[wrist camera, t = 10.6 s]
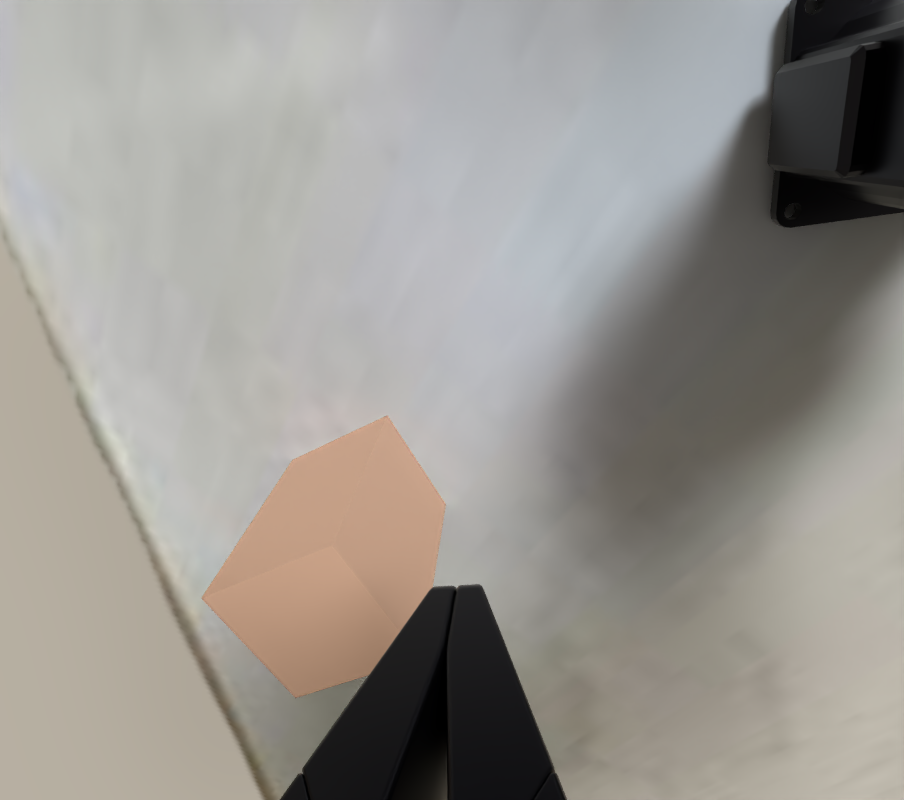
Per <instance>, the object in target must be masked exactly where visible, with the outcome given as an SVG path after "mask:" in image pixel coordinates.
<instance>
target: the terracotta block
mask: <svg viewBox="0 0 904 800" xmlns="http://www.w3.org/2000/svg"><path fill="white" fill-rule="evenodd" d="M445 507H446V504H445V502H444V501H443V499H442V498H441V496H440V495H439V493H438V492H437V490H436V489H435V487H434V486H433V484H432V483H431V481H430V480H429V478H428V476H427V475H426V473H425V472H424V470H423V469H422V467H421V466H420V464H419V463H418V461H417V460H416V458H415V457H414V455H413V454H412V452H411V451H410V449H409V448H408V446H407V445H406V443H405V442H404V440H403V438H402V437H401V435H400V434H399V432H398V431H397V429H396V428H395V426H394V425H393V423H392V422H391V420H390V419H389V417H388V416H385V417H383V418H381V419H379V420H376V421H374V422H372V423H370V424H368V425H366V426H364V427H362V428H359V429H357V430H355V431H353V432H351V433H349V434H347V435H345V436H342V437H340V438H338V439H336V440H334V441H332V442H330V443H328V444H325V445H323V446H321V447H319V448H317V449H315V450H313V451H311V452H308V453H306V454H304V455H302V456H300V457H298V458H296V459H294V460H292V461H291V463H290V464H289V466H288V467H287V469H286V470H285V472H284V474H283V475H282V477H281V478H280V480H279V481H278V483H277V484H276V486H275V487H274V489H273V490H272V492H271V493H270V495H269V496H268V498H267V499H266V501H265V502H264V504H263V505H262V507H261V508H260V510H259V511H258V513H257V514H256V516H255V518H254V519H253V521H252V522H251V524H250V525H249V527H248V528H247V530H246V531H245V533H244V534H243V536H242V537H241V539H240V540H239V542H238V543H237V545H236V546H235V548H234V549H233V551H232V552H231V554H230V555H229V557H228V558H227V560H226V561H225V563H224V565H223V566H222V568H221V569H220V571H219V572H218V574H217V575H216V577H215V578H214V580H213V581H212V583H211V584H210V586H209V587H208V589H207V590H206V592H205V593H204V595H203V596H202V600H203V601H204V602H205V603H206V604H207V605H208V606H209V607H210V608H211V609H212V610H213V611H214V612H215V613H216V614H217V615H218V616H219V618H220V619H221V620H222V621H223V622H224V623H225V624H226V625H227V626H228V627H229V628H230V629H231V630H232V631H233V632H234V633H235V634H236V636H237V637H238V638H239V639H240V640H241V641H242V642H243V643H244V644H245V645H246V646H247V647H248V648H249V649H250V650H251V651H252V652H253V654H254V655H255V656H256V657H257V658H258V659H259V660H260V661H261V662H262V663H263V664H264V665H265V666H266V667H267V668H268V669H269V670H270V672H271V673H272V674H273V675H274V676H275V677H276V678H277V679H278V680H279V681H280V682H281V683H282V684H283V685H284V686H285V687H286V689H287V690H288V691H289V692H290V693H291V694H292V695H293V696H294V697H295V698H297V697H300V696H304V695H307V694H310V693H313V692H316V691H320V690H323V689H326V688H329V687H332V686H336V685H339V684H342V683H345V682H348V681H351V680H355V679H358V678H361V677H364V676H367V675H369V674H370V673H371V671H372V670H373V669H374V667H375V666H376V664H377V663H378V662H379V660H380V659H381V657H382V656H383V655H384V653H385V652H386V650H387V649H388V648H389V646H390V645H391V643H392V642H393V641H394V639H395V638H396V636H397V635H398V634H399V632H400V631H401V629H402V628H403V626H404V625H405V624H406V622H407V621H408V619H409V618H410V617H411V615H412V614H413V612H414V611H415V610H416V608H417V607H418V605H419V604H420V603H421V601H422V600H423V598H424V597H425V596H426V594H427V593H428V591H429V590H430V589H431V588H433V582H434V575H435V569H436V563H437V557H438V550H439V544H440V538H441V532H442V525H443V519H444V513H445Z"/></svg>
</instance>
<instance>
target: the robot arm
mask: <svg viewBox="0 0 904 800" xmlns="http://www.w3.org/2000/svg"><path fill="white" fill-rule="evenodd" d="M805 3H806V0H792V1H791V2H790V6H789V10H788V21H787V33H786V44H785V55H784V65H783V66H782V67H781V68H780V70H779V71H778V72H777V73H776V75H775V79H774V91H773V103H772V115H771V127H770V139H769V151H768V164H769V165H770V166H771V167H772V168H773V169H774V179H773V190H772V202H771V219H772V220H773V222H774V223H776V224H777V225H779V226H783V227H789V228H792V227H799V226H807V225H814V224H821V223H828V222H835V221H843V220H850V219H857V218H864V217H872V216H879V215H886V214H893V213H901V212H904V0H817V8H816V11H815V12H814V13H813V14H812V15H811V14H808V13H807V12H806V11H805ZM792 203H794V204H795V208H796V209H795V212H794V214H793V215H792V216H791V217H788V218H786V217H785V215H784V212H785V209H786V208H787V206H788V205H790V204H792ZM302 771H303V774H301V773H300V774H298V775H297V777H296V778H295V779H294V781H293V782H292V784H291V785H290V786H289V788H288V789H287V791H286V792H285V793H284V795H283V796H282V798H281V799H280V800H567V798H566V796H565V793H564V791H563V788H562V786H561V783H560V780H559V778H558V775H557V774H556V773H555V770H554V766H553V764H552V761H551V758H550V756H549V753H548V751H547V748H546V746H545V743H544V741H543V738H542V736H541V733H540V731H539V728H538V726H537V723H536V721H535V718H534V716H533V713H532V710H531V708H530V705H529V703H528V700H527V698H526V695H525V693H524V690H523V688H522V685H521V683H520V680H519V678H518V675H517V673H516V670H515V668H514V665H513V663H512V660H511V657H510V655H509V652H508V650H507V647H506V645H505V642H504V640H503V637H502V635H501V632H500V630H499V627H498V625H497V622H496V620H495V617H494V615H493V612H492V610H491V607H490V604H489V602H488V599H487V597H486V594H485V592H484V589H483V587H482V586H481V585H479V584H475V585H460V586H458V588H457V589H456V587H454V586H438V587H433V588H431V589H430V590H429V591H428V593H427V594H426V596H425V597H424V598H423V600H422V601H421V603H420V604H419V605H418V607H417V608H416V610H415V611H414V612H413V614H412V615H411V617H410V618H409V619H408V621H407V622H406V624H405V625H404V626H403V628H402V629H401V631H400V632H399V634H398V635H397V636H396V638H395V639H394V641H393V642H392V643H391V645H390V646H389V648H388V649H387V650H386V652H385V653H384V655H383V656H382V657H381V659H380V660H379V662H378V663H377V664H376V666H375V667H374V669H373V670H372V671H371V673H370V674H369V676H368V677H367V679H366V680H365V681H364V683H363V684H362V686H361V687H360V688H359V690H358V691H357V693H356V694H355V695H354V697H353V698H352V700H351V701H350V702H349V704H348V705H347V707H346V708H345V709H344V711H343V712H342V714H341V715H340V717H339V718H338V719H337V721H336V722H335V724H334V725H333V726H332V728H331V729H330V731H329V732H328V733H327V735H326V736H325V738H324V739H323V740H322V742H321V743H320V745H319V746H318V747H317V749H316V750H315V752H314V753H313V754H312V756H311V757H310V759H309V760H308V762H307V763H306V764H305V766H304V767H303V769H302Z"/></svg>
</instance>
